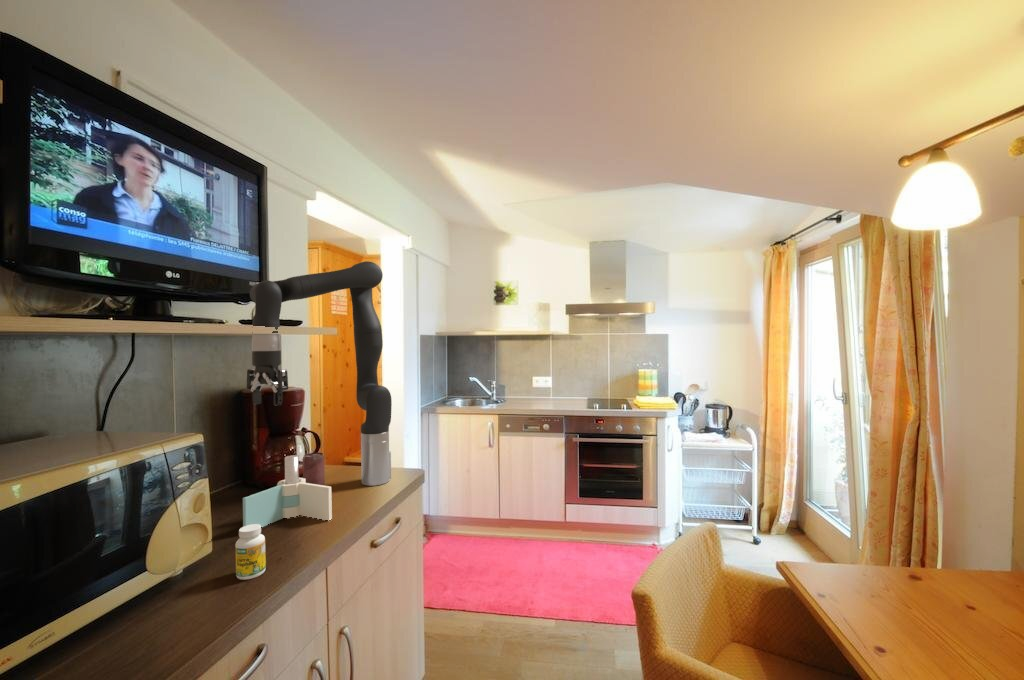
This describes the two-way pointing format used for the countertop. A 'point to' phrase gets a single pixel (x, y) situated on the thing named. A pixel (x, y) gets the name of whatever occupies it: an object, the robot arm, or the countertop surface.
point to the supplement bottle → (250, 552)
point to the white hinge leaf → (308, 500)
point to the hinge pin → (291, 469)
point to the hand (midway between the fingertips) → (267, 404)
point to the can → (314, 468)
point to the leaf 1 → (267, 506)
